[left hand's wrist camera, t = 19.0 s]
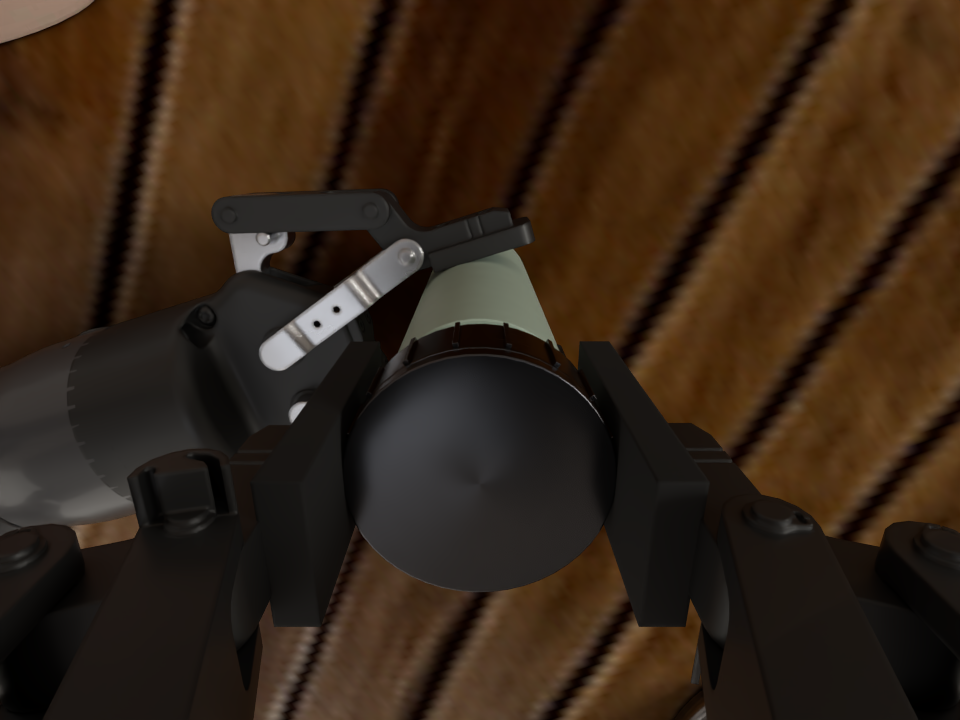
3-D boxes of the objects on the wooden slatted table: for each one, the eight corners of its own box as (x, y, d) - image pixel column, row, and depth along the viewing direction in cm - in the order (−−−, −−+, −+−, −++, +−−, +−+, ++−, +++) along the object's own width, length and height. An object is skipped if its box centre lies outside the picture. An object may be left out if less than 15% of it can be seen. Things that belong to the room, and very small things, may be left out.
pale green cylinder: (427, 238, 26) (353, 350, 11) (525, 231, 26) (591, 336, 10) (436, 330, 27) (382, 544, 12) (527, 325, 27) (589, 533, 12)
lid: (627, 495, 13) (652, 552, 11) (414, 560, 13) (405, 624, 11) (559, 284, 11) (574, 308, 9) (319, 369, 12) (288, 408, 10)
